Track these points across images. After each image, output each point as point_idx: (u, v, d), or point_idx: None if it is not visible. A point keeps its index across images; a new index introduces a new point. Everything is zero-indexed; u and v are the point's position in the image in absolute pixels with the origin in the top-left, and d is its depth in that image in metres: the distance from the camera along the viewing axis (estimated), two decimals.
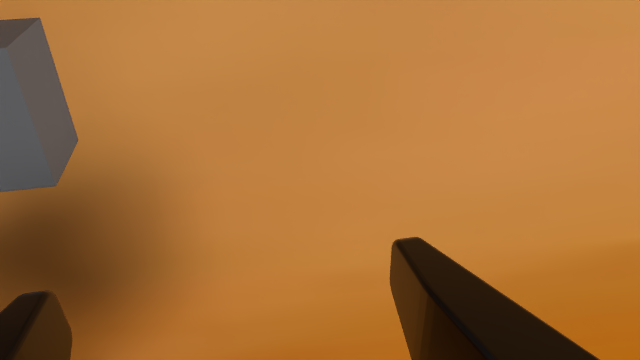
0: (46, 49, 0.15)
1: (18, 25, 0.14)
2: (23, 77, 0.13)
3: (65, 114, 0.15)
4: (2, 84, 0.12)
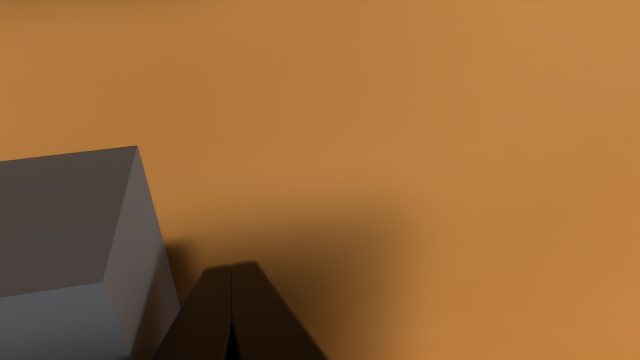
0: (147, 206, 0.08)
1: (103, 179, 0.07)
2: (127, 315, 0.06)
3: (172, 304, 0.09)
4: (90, 345, 0.06)
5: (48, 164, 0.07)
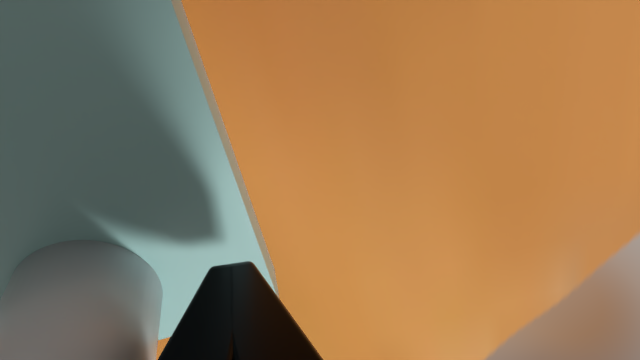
0: None
1: None
2: None
3: None
4: None
5: None
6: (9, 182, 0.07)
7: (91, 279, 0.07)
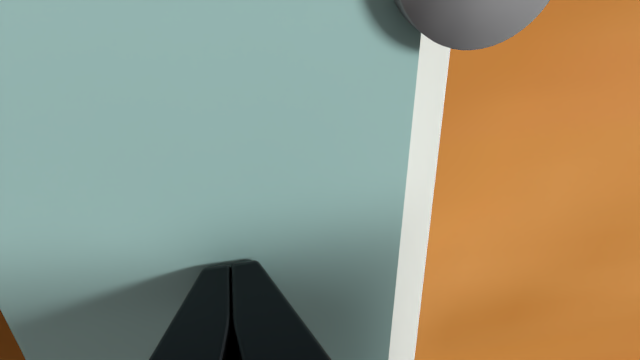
0: None
1: None
2: None
3: None
4: None
5: None
6: None
7: None
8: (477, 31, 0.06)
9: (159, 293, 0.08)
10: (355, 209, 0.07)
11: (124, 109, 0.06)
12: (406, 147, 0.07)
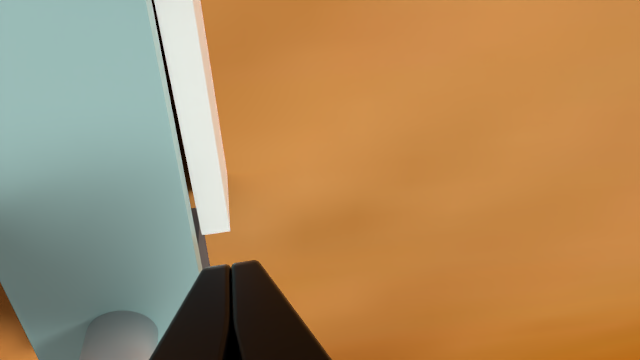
0: None
1: None
2: (201, 260, 0.20)
3: (208, 263, 0.23)
4: None
5: None
6: (105, 285, 0.16)
7: (133, 331, 0.16)
8: None
9: (25, 140, 0.13)
10: (133, 90, 0.13)
11: None
12: (153, 52, 0.13)
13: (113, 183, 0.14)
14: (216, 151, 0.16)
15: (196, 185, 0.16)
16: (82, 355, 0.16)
